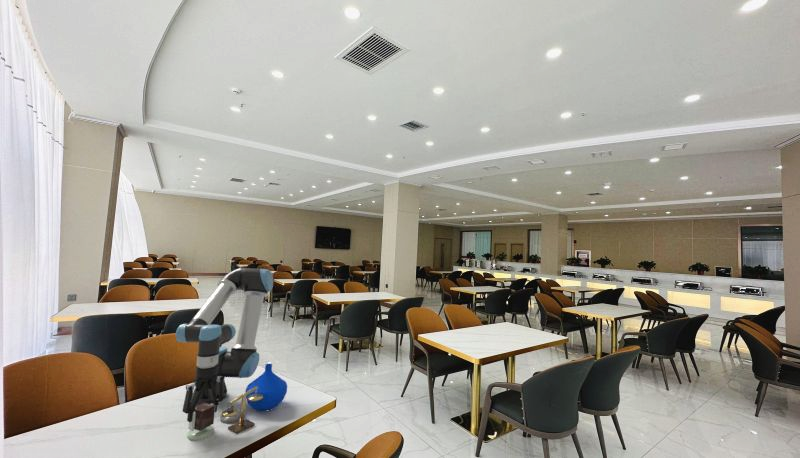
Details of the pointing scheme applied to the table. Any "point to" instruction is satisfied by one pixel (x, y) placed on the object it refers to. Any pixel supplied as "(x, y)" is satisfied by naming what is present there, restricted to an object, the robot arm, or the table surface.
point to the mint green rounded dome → (200, 433)
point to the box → (204, 416)
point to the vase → (267, 390)
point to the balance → (232, 411)
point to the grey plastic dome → (231, 418)
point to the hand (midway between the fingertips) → (201, 425)
